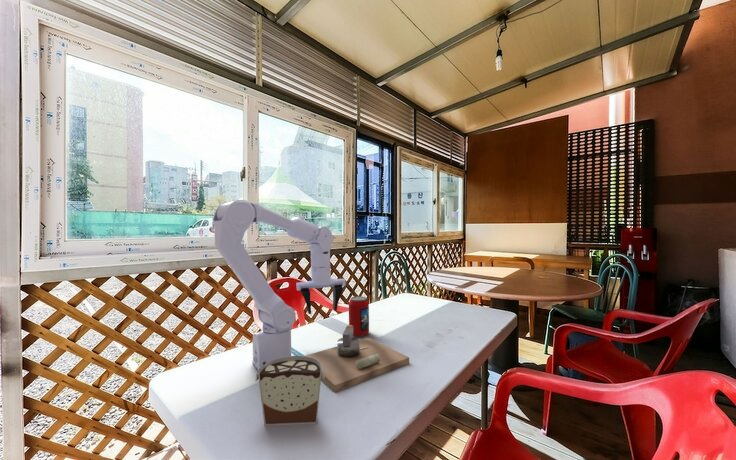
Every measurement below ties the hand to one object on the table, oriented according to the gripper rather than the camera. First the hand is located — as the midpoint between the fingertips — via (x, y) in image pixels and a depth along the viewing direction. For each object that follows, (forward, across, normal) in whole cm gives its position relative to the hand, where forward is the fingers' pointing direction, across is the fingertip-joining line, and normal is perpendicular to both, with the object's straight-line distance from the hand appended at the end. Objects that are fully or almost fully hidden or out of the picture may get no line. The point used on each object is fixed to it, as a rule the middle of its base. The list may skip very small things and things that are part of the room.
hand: (322, 311), depth 88 cm
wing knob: (+9, -5, +11) cm, 15 cm away
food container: (+10, +11, +31) cm, 34 cm away
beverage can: (+11, -13, -6) cm, 18 cm away
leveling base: (+10, -6, +14) cm, 18 cm away
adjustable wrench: (+11, +10, -1) cm, 14 cm away
